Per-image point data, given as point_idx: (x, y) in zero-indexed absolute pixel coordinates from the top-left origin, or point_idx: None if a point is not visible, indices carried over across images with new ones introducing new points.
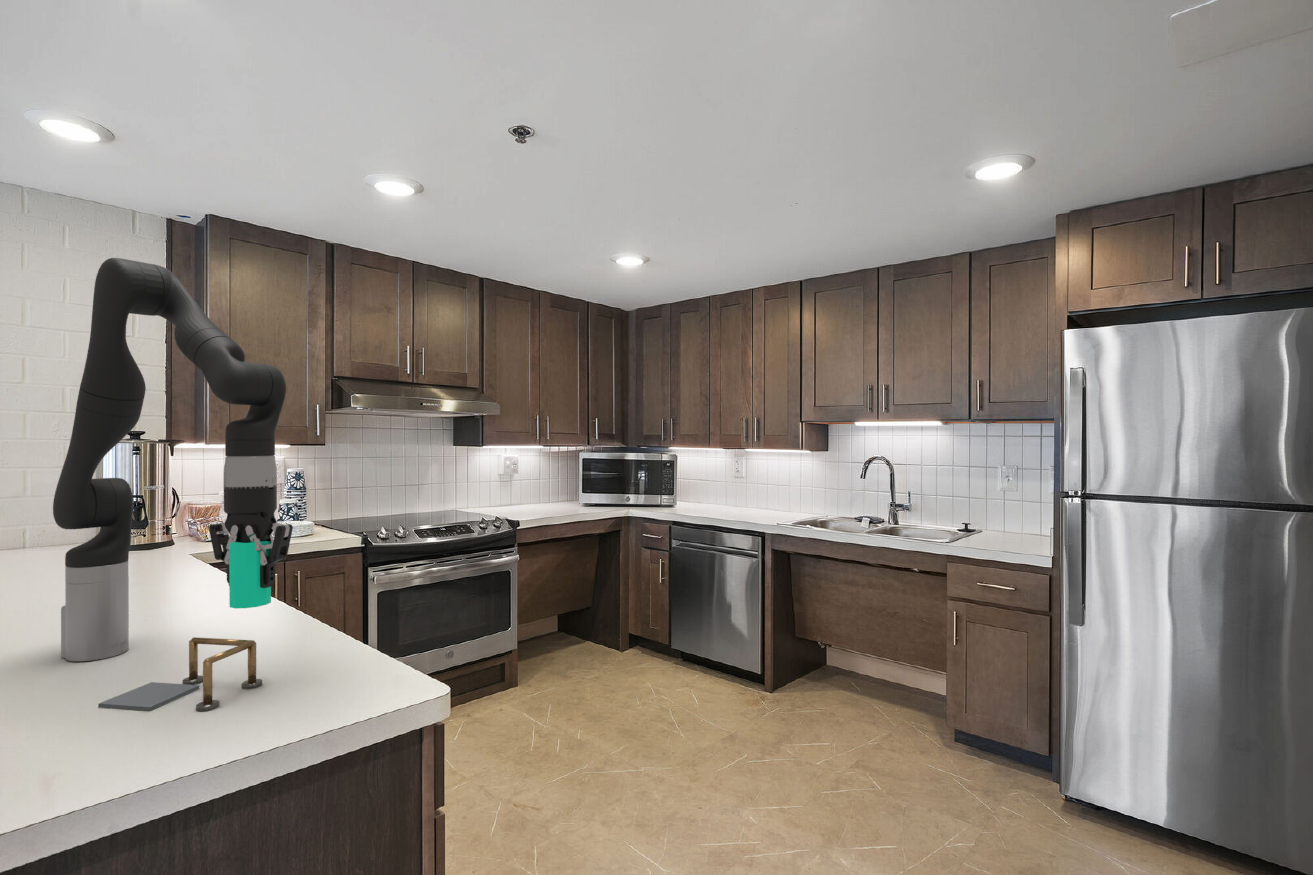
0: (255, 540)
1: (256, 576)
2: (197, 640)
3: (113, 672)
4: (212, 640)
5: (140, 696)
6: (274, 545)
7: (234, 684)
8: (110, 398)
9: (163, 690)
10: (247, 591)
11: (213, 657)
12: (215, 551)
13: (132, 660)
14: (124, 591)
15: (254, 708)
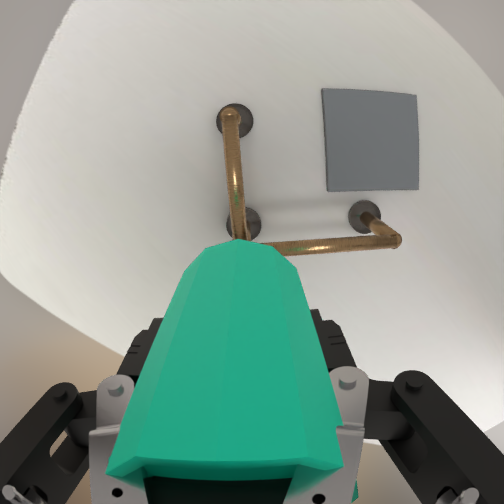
0: (102, 482)
1: (158, 331)
2: (380, 236)
3: (495, 228)
4: (345, 240)
5: (382, 127)
6: (29, 442)
7: (282, 222)
8: None
9: (369, 158)
10: (192, 277)
11: (225, 127)
12: (438, 400)
13: (499, 273)
14: None
15: (153, 141)
